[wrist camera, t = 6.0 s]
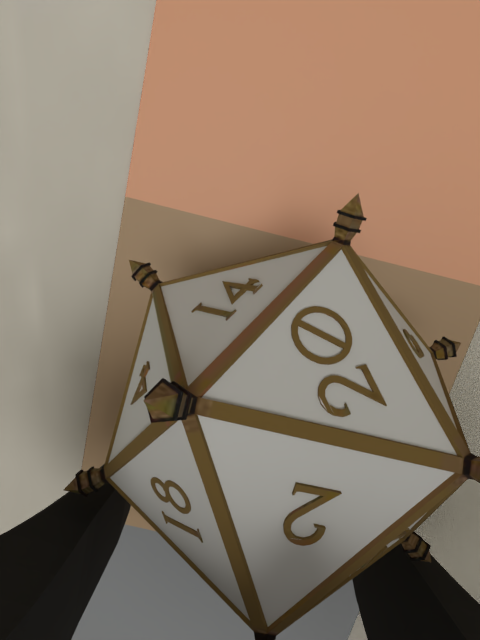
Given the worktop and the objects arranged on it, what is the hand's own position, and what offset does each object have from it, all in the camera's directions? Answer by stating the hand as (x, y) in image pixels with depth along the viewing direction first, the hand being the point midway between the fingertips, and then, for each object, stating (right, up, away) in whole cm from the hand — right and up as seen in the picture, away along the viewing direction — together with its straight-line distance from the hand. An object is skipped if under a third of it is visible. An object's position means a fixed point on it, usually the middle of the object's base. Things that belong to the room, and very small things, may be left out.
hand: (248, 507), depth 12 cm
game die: (+1, +5, +1) cm, 5 cm away
